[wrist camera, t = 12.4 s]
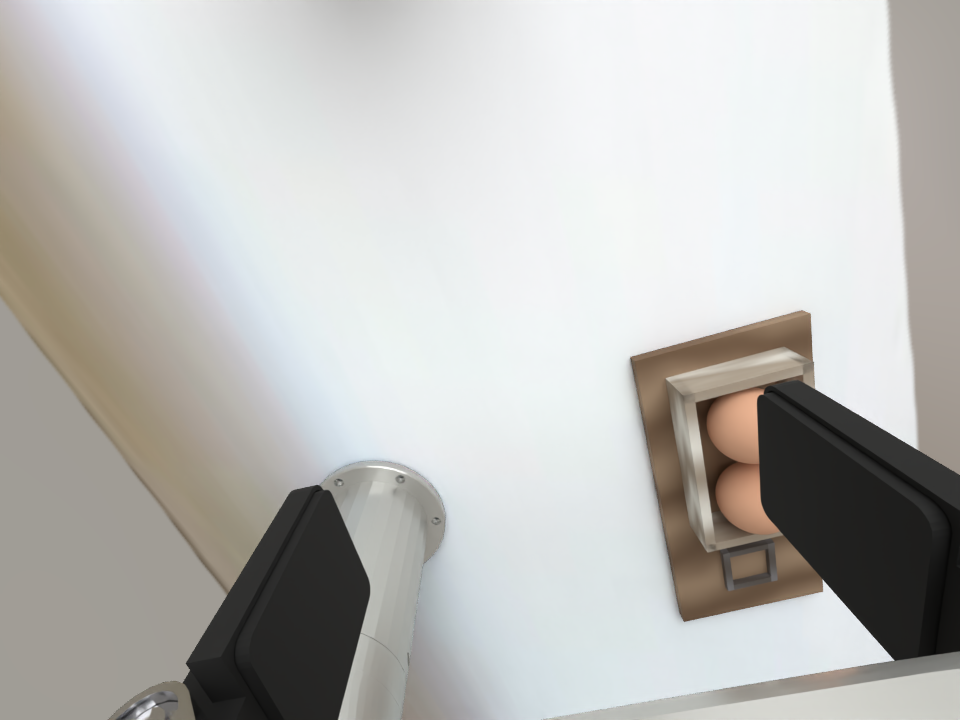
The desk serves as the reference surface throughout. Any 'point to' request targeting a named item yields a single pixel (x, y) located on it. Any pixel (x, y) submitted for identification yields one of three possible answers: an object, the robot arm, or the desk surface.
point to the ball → (736, 425)
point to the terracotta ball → (743, 499)
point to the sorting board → (718, 464)
